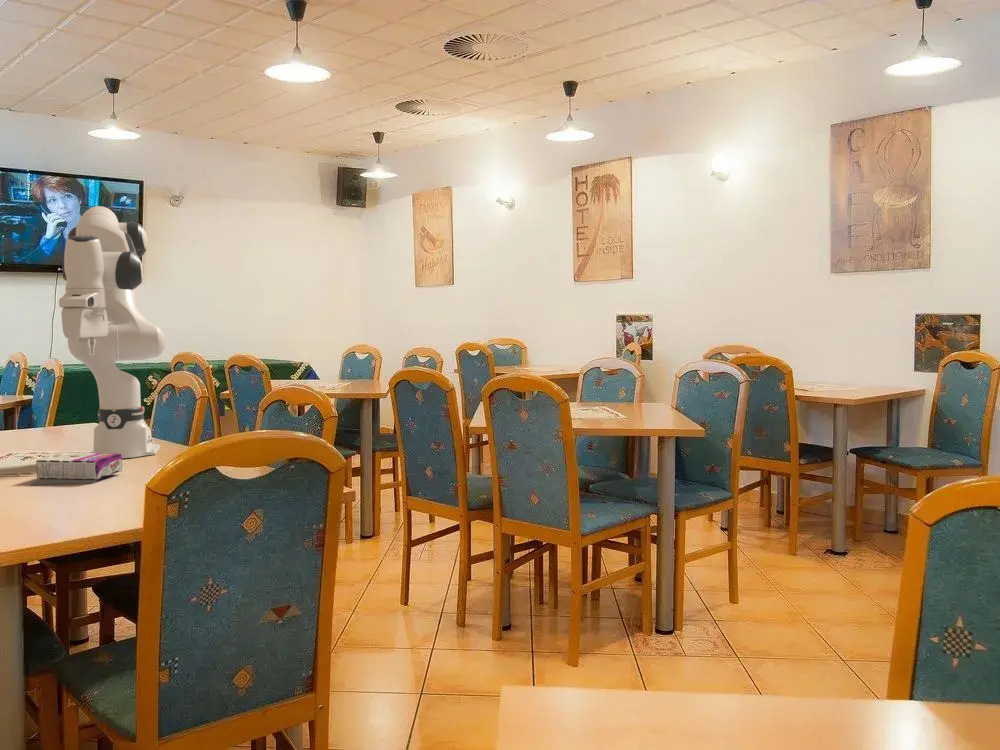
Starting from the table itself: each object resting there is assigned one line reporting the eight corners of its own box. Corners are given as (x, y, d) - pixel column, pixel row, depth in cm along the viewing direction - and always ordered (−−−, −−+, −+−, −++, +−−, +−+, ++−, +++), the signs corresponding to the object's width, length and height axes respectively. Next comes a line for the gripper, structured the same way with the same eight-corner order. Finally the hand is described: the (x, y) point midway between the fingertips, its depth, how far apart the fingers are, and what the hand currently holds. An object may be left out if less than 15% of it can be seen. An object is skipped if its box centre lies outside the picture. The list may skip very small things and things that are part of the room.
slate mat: (49, 476, 211) (49, 474, 211) (108, 474, 213) (108, 472, 213) (30, 485, 200) (30, 482, 200) (92, 483, 202) (92, 481, 202)
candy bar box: (123, 472, 214) (65, 470, 216) (122, 453, 213) (64, 451, 216) (96, 481, 203) (35, 479, 205) (95, 461, 202) (34, 459, 205)
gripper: (88, 301, 216) (90, 354, 217) (55, 299, 195) (58, 357, 196) (113, 301, 216) (115, 353, 217) (83, 299, 196) (86, 357, 197)
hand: (88, 355), depth 207 cm, fingers closed
